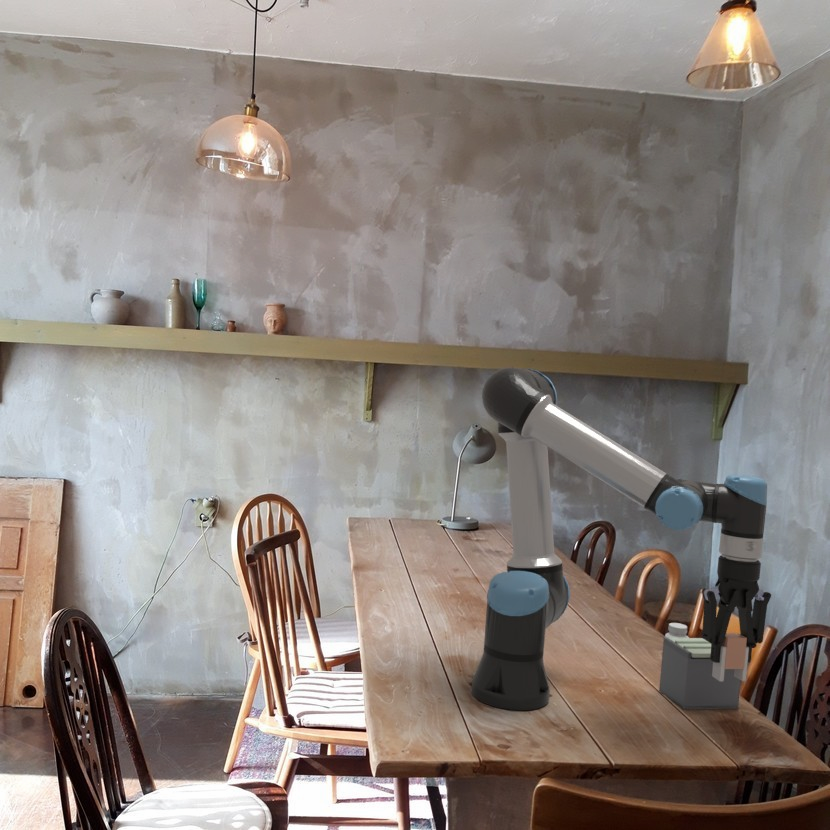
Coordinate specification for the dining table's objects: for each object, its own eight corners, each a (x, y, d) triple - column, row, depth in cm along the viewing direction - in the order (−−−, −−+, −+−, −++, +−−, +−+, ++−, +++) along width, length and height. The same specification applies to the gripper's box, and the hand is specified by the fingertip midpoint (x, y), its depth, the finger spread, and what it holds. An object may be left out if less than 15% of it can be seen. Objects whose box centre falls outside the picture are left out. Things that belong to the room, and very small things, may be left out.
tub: (683, 709, 161) (688, 652, 161) (659, 690, 171) (663, 637, 170) (738, 708, 164) (743, 653, 164) (711, 690, 173) (716, 637, 173)
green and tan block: (710, 669, 155) (713, 637, 155) (667, 641, 171) (670, 613, 170) (758, 669, 157) (761, 637, 157) (711, 641, 173) (714, 613, 172)
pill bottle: (658, 663, 188) (662, 621, 188) (681, 664, 189) (684, 622, 189) (667, 671, 183) (671, 628, 183) (691, 672, 184) (695, 629, 183)
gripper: (710, 560, 151) (699, 686, 152) (792, 563, 155) (780, 685, 156) (688, 551, 159) (677, 671, 160) (767, 554, 162) (756, 671, 163)
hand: (728, 678), depth 158 cm, fingers closed on green and tan block, 4 cm apart
